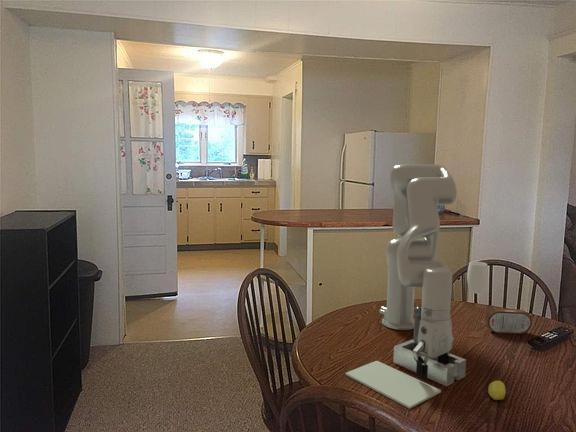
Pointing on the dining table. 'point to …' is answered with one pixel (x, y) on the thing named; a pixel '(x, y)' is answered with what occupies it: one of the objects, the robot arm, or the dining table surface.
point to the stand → (416, 325)
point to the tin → (508, 321)
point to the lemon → (497, 390)
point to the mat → (393, 384)
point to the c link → (431, 364)
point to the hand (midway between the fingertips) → (432, 372)
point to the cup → (477, 276)
